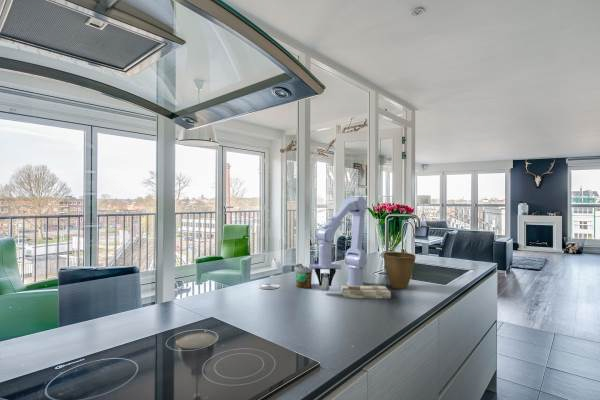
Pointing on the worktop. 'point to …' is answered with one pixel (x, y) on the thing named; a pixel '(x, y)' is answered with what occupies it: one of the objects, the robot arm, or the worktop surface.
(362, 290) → the board
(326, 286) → the silver metal cylinder
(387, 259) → the plant pot
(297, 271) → the food container
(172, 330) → the worktop surface
